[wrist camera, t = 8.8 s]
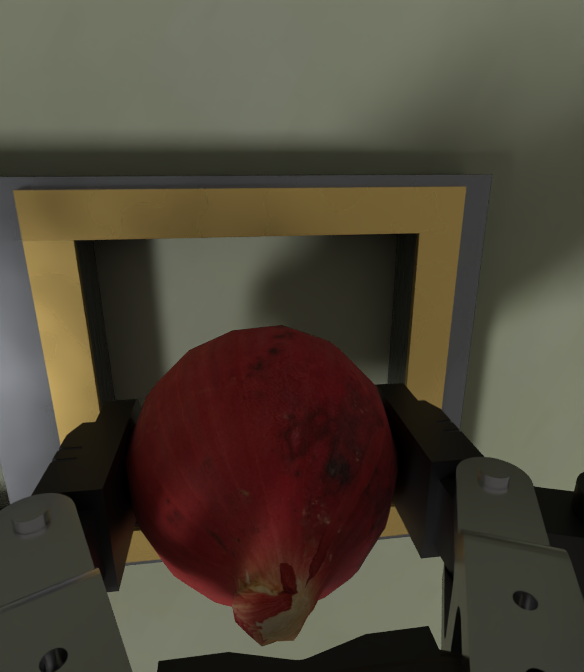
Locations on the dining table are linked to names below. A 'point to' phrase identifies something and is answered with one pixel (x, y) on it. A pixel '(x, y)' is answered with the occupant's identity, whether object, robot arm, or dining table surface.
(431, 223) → the grey yellow flat frame
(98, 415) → the robot arm
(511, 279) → the dining table surface
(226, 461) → the onion
